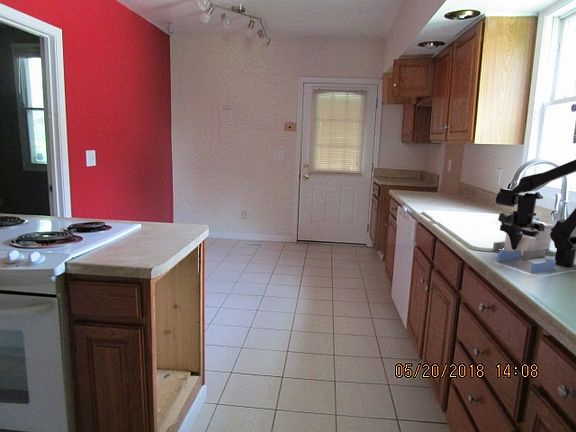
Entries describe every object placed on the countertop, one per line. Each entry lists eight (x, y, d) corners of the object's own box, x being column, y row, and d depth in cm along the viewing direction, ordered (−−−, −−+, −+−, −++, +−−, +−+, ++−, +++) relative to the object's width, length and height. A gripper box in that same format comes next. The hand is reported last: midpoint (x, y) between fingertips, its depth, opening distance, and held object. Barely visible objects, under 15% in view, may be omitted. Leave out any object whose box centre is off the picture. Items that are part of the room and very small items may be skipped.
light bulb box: (515, 243, 167) (519, 219, 165) (528, 243, 169) (532, 219, 167) (536, 251, 157) (541, 225, 155) (550, 250, 159) (554, 224, 157)
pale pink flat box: (510, 249, 156) (513, 232, 155) (533, 255, 148) (536, 237, 147) (503, 250, 154) (506, 233, 153) (525, 256, 146) (529, 238, 145)
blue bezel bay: (517, 259, 144) (519, 248, 143) (554, 270, 133) (556, 258, 132) (496, 262, 139) (498, 250, 138) (532, 274, 128) (534, 261, 127)
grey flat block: (512, 248, 160) (513, 240, 159) (544, 257, 148) (546, 248, 148) (492, 250, 154) (493, 242, 154) (524, 260, 143) (526, 251, 142)
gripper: (520, 204, 159) (514, 241, 162) (490, 206, 151) (484, 245, 154) (548, 209, 149) (541, 249, 152) (517, 211, 141) (510, 253, 144)
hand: (518, 248), depth 151 cm, fingers open, 6 cm apart
